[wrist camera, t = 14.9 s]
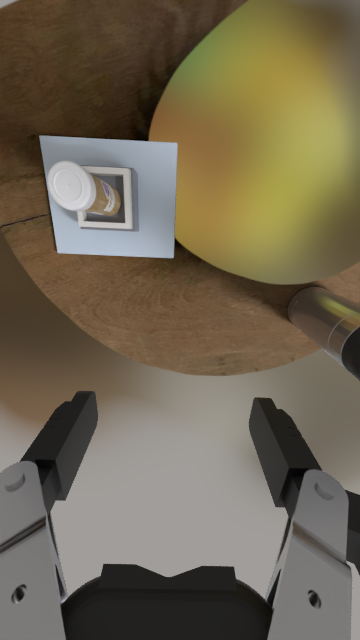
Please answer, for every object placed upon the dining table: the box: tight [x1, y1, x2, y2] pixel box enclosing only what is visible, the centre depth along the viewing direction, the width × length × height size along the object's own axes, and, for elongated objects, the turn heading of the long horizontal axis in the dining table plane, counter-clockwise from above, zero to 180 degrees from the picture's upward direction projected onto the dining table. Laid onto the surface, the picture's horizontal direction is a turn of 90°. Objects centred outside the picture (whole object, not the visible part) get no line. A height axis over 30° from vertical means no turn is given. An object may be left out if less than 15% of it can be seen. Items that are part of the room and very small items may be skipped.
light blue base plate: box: [39, 135, 177, 258], centre depth 37 cm, size 22×18×6 cm
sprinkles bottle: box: [47, 161, 121, 216], centre depth 29 cm, size 5×5×14 cm
